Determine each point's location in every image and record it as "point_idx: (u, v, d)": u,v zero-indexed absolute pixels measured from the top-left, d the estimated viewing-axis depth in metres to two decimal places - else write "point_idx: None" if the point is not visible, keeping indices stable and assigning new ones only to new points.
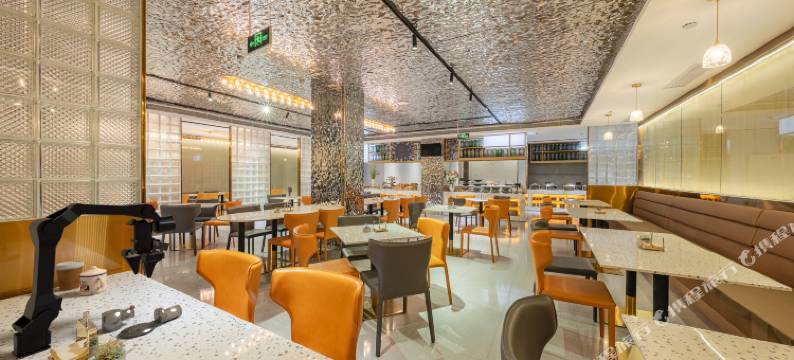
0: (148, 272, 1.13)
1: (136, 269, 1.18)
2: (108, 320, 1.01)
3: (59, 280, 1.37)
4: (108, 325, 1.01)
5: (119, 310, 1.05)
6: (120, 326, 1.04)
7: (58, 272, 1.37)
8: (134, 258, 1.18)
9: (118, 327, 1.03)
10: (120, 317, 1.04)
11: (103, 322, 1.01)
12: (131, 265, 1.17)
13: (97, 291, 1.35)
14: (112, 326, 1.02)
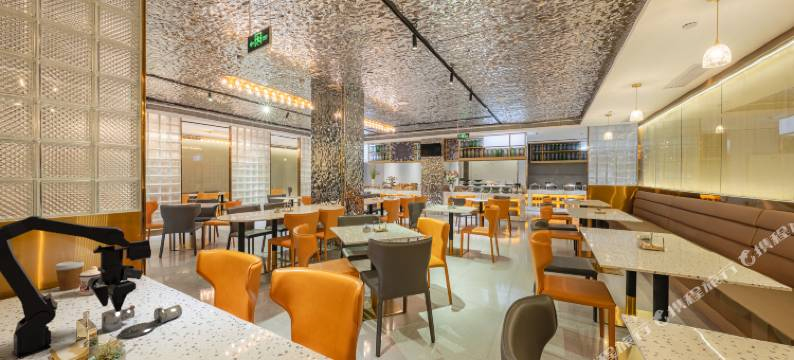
0: (117, 305, 1.01)
1: (105, 300, 1.06)
2: (108, 320, 1.01)
3: (59, 280, 1.37)
4: (108, 325, 1.01)
5: None
6: (120, 326, 1.04)
7: (58, 272, 1.37)
8: (102, 288, 1.05)
9: (118, 327, 1.03)
10: (120, 317, 1.04)
11: (103, 322, 1.01)
12: (99, 296, 1.05)
13: None
14: (112, 326, 1.02)
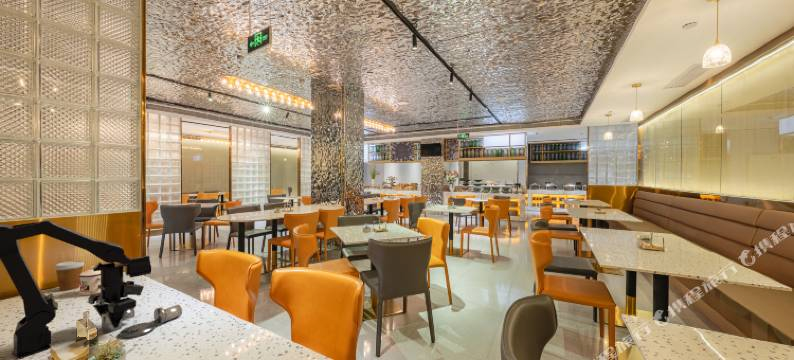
0: (114, 322, 1.02)
1: None
2: (108, 320, 1.01)
3: (59, 280, 1.37)
4: (108, 325, 1.01)
5: None
6: (120, 326, 1.04)
7: (58, 272, 1.37)
8: (105, 306, 1.05)
9: (118, 327, 1.03)
10: None
11: (103, 322, 1.01)
12: None
13: (97, 291, 1.35)
14: (112, 326, 1.02)
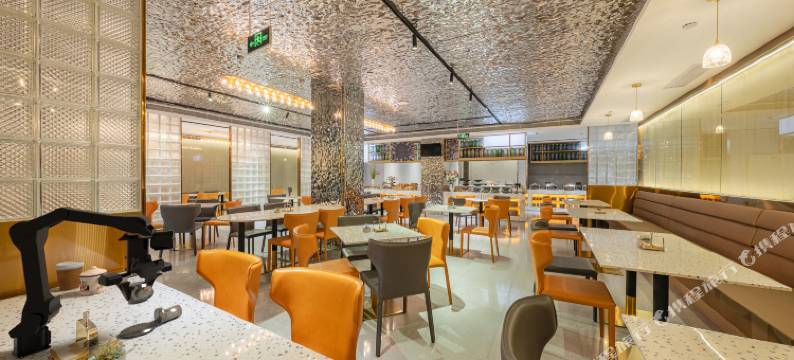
0: (123, 294, 0.99)
1: None
2: None
3: (59, 280, 1.37)
4: None
5: (138, 285, 1.01)
6: (132, 302, 1.00)
7: (58, 272, 1.37)
8: (148, 276, 1.05)
9: (130, 302, 1.00)
10: (132, 292, 1.00)
11: None
12: None
13: (97, 291, 1.35)
14: None
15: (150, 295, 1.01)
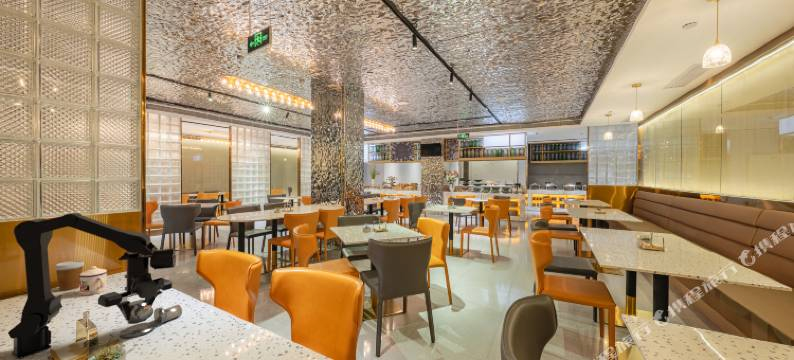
0: (123, 313, 0.99)
1: None
2: None
3: (59, 280, 1.37)
4: None
5: (137, 304, 1.01)
6: (132, 321, 1.00)
7: (58, 272, 1.37)
8: None
9: (130, 321, 1.00)
10: (132, 312, 1.00)
11: None
12: None
13: (97, 291, 1.35)
14: None
15: (150, 314, 1.01)
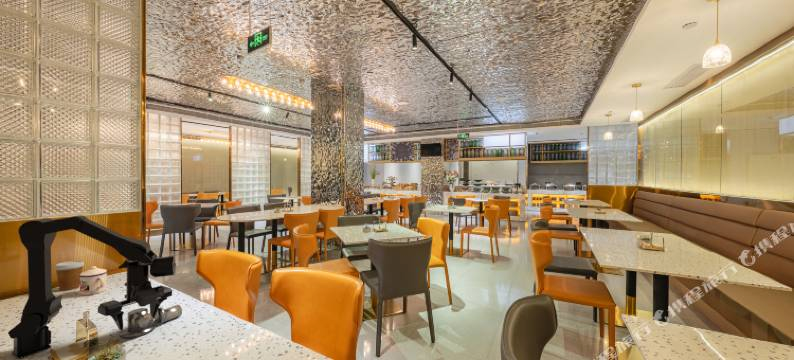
0: (117, 324, 0.98)
1: (151, 314, 1.06)
2: None
3: (59, 280, 1.37)
4: None
5: (137, 313, 1.01)
6: (132, 330, 1.00)
7: (58, 272, 1.37)
8: None
9: (130, 330, 1.00)
10: (132, 320, 1.00)
11: None
12: (151, 307, 1.07)
13: (97, 291, 1.35)
14: None
15: (150, 323, 1.01)
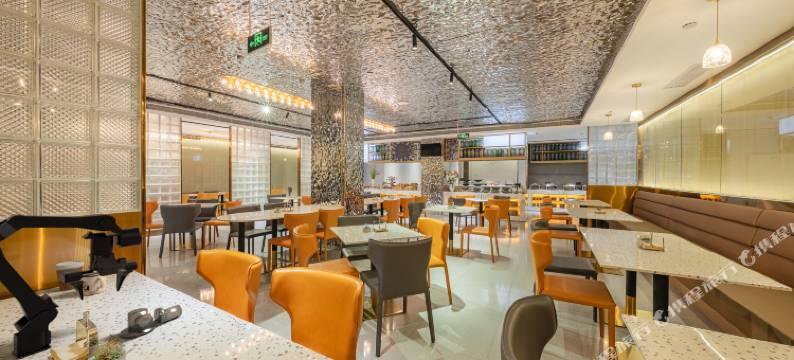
0: (77, 293, 0.99)
1: (117, 286, 1.08)
2: None
3: None
4: None
5: (137, 313, 1.01)
6: (132, 330, 1.00)
7: (58, 272, 1.37)
8: (119, 273, 1.08)
9: (130, 330, 1.00)
10: (132, 320, 1.00)
11: None
12: (117, 279, 1.09)
13: (97, 291, 1.35)
14: None
15: (150, 323, 1.01)
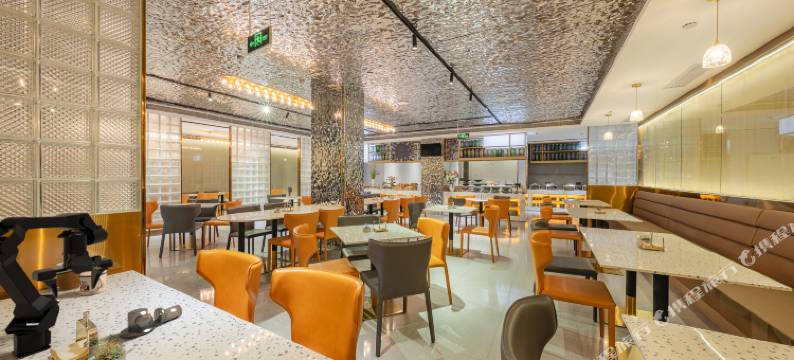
0: (51, 291, 1.00)
1: (92, 283, 1.09)
2: None
3: (59, 280, 1.37)
4: None
5: (137, 313, 1.01)
6: (132, 330, 1.00)
7: None
8: (94, 271, 1.10)
9: (130, 330, 1.00)
10: (132, 320, 1.00)
11: None
12: (92, 277, 1.10)
13: (97, 291, 1.35)
14: None
15: (150, 323, 1.01)
